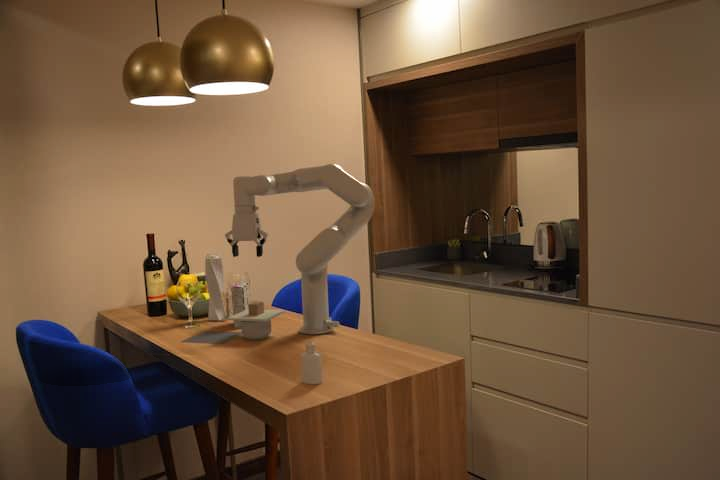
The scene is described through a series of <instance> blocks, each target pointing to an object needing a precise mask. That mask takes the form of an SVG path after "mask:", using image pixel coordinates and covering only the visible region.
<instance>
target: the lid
mask: <svg viewBox="0 0 720 480" xmlns="http://www.w3.org/2000/svg"><path fill="white" fill-rule="evenodd" d="M285 312H286V311H285V310H282V309H265V304H264V301H253V302H252V301H251V302H250V304H248V309H247V310H245V311H242V312H240V313H238V314H235V315H233V314H232V315H231V317H228V318H227V320H226V321H233V322H234V321H262V322H267V321H269V320H273V319H274V318H276V317H279V316H280V315H283V314H285Z"/></svg>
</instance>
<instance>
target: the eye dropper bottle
mask: <svg viewBox="0 0 720 480" xmlns="http://www.w3.org/2000/svg"><path fill="white" fill-rule="evenodd" d="M300 373H301V374H300V375H301V382H302V383H303V384H307V385H320V384H321V383H322V382H323V365H322V356H321V354H320V353H318V352H316V345H315V343H313V341H312V339H308V343H307V344H306V345H305V352H304V353H302V354H301V356H300Z"/></svg>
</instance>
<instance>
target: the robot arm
mask: <svg viewBox="0 0 720 480" xmlns="http://www.w3.org/2000/svg"><path fill="white" fill-rule="evenodd" d="M232 183H233V185H232V186H233V201H234V214H233V217H232V223H231V225H232V226H231V230H230V231H228V232H227V233H225V234H224V237H225V239H226V241H227V243H228V244H229V245H230V247H231V253H232V256H233V257H234V258H236V257H239V256H240V253H239V252H240V251H239V245H238V243H239V242H254V243H255V244H256V246H255V248H256V249H255V251H256V258H260V257H263V253H264V252H263V251H264V250H263V249H264V248H263V246H264V244H265V243H266V242H267V239H268V237H269V233H268V232H266V231H264V230H262V225H261V221H260V216H259V213H258V212H257V211H259V206H257V205H256V196H258V197H259V196H261V197H264V196H271V195H272V196H274V195H281V194H287V193H289V194H290V193H305V192H311V191H312V192H313V191H319V190H320V191H321V190H329V191H330V192H332V194H334V195H335V196H337V197H338V198H339V199H341V200H343V201H344V202H346V203H347V204H348V205H350V206H349V208H348V209H347V210H346V211H345V212H344V213H342V215H340V216H339V218H337V220H336V221H335V222H333V223H332V224H330V225H329V226H327V227H326V228H324V229H322V230H321V231H320V232H319V233H318V234H317V235H316V236H314V237H313V239H312V240H311V241H310V242H309V243H308V244H307V245H305V246H304V247H303V248H302V249H301V250H300V251H299V252H298V253H297V255H296V258H295V266H296V268H297V270H298V271H299V272H300V273H301V302H302V304H301V305H302V324H303V325H302V326H300V327H299V329H298V330H299V333H301V334H304V335H305V334H306V335H322V334H327V333H331V332H333V331H334V328H340V322H339V321H338V320H337V321H336V320H332V317H331V316H330V314H329V293H328V292H329V290H328V287H329V286H328V263H329V262H331V260H332V259H334V258H335V257H336V255H338V254H339V253H340V252H341V251H342V250H343V249H344V248H345V247H346V245H347V244H348V243H349V242H350V241H351V240H352V239H353V238H354V237H355V236H357V234H358V233H360V231H361V230H362V229H363V228H364V227H366V225H367V223H368V222H369V221H370V220H371V218H372V215H373V214H374V209H375V197H374V193H373V190H372V188H371V187H370V186H369V185H368V184H366V183H364V182H360V181H359V180H358V179H356V178H355V177H354V176H352V175H350V174H349V173H348V172H347V171H345V170H344V168H343V167H342V166H341V165H339V164H336V163H328V164H325V165H317V166H311V167H310V166H309V167H301V168H298V169H296V170H293V171H288V172H284V173H275V174H259V175H255V176H254V175H253V176H249V175H246V176H245V175H244V176H241V175H240V176H236V177H234V178H233V181H232ZM256 212H257V213H256ZM231 237H232V238H231Z"/></svg>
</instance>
